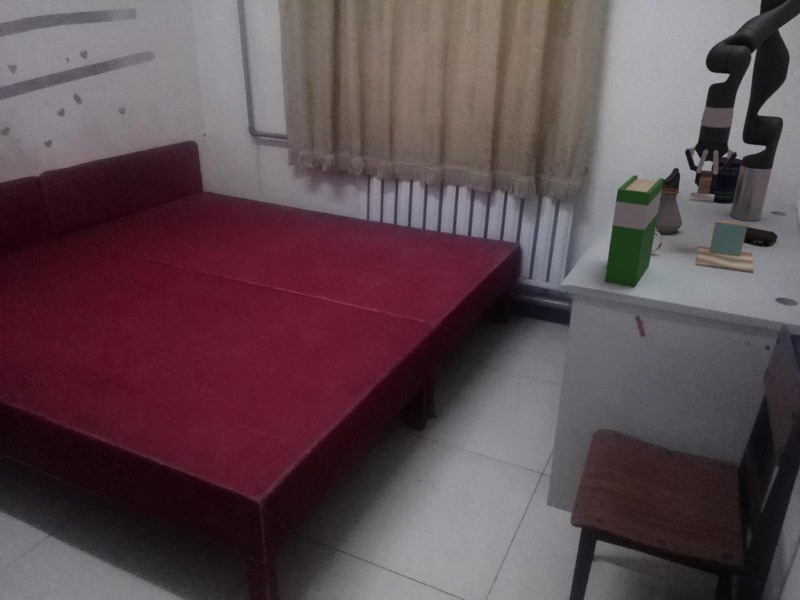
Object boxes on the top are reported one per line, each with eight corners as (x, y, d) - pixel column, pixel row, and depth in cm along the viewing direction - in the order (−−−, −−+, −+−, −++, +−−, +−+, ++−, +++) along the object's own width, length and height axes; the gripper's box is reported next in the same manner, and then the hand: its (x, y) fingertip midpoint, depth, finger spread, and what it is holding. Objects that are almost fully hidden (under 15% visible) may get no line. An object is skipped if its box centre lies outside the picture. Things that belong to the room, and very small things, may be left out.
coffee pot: (648, 222, 214) (656, 177, 208) (685, 229, 208) (693, 182, 202) (626, 239, 199) (634, 190, 193) (665, 246, 192) (674, 196, 186)
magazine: (674, 169, 247) (659, 158, 221) (683, 170, 246) (670, 159, 219) (663, 215, 250) (648, 210, 224) (672, 216, 248) (658, 211, 222)
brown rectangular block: (693, 185, 189) (696, 169, 186) (715, 187, 186) (719, 171, 183) (689, 200, 181) (692, 184, 179) (713, 203, 179) (716, 186, 176)
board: (698, 247, 191) (698, 245, 191) (751, 254, 186) (751, 252, 186) (695, 265, 178) (696, 262, 178) (753, 273, 173) (753, 270, 172)
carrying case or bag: (716, 239, 200) (768, 249, 191) (718, 229, 199) (771, 239, 190) (726, 231, 207) (777, 241, 199) (728, 222, 206) (780, 231, 197)
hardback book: (621, 261, 180) (633, 175, 171) (648, 266, 177) (663, 178, 167) (604, 281, 166) (617, 189, 157) (634, 287, 163) (649, 193, 153)
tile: (709, 250, 187) (715, 220, 184) (740, 254, 184) (747, 223, 180) (709, 252, 186) (715, 221, 182) (740, 256, 183) (747, 225, 179)
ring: (660, 254, 186) (665, 227, 183) (659, 257, 183) (663, 230, 180) (635, 250, 189) (639, 223, 186) (633, 253, 187) (637, 226, 183)
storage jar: (700, 200, 241) (708, 159, 235) (712, 195, 247) (720, 155, 241) (727, 205, 235) (736, 163, 229) (739, 200, 241) (747, 160, 235)
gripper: (744, 123, 178) (732, 185, 185) (689, 120, 183) (679, 180, 191) (744, 127, 172) (731, 192, 179) (687, 124, 177) (676, 186, 184)
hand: (704, 185), depth 185 cm, fingers closed on brown rectangular block, 3 cm apart
